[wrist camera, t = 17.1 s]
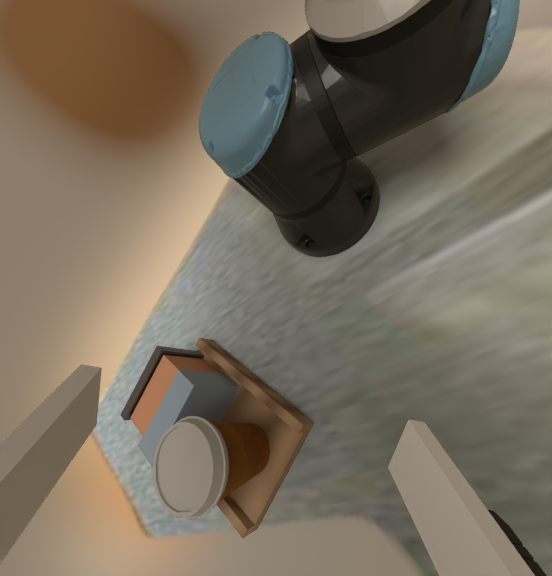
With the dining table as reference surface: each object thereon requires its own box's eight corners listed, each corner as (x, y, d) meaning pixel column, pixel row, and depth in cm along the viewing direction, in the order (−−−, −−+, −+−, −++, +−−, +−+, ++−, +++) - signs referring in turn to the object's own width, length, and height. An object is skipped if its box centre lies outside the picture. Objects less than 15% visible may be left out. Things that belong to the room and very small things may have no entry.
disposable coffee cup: (294, 466, 38) (231, 494, 28) (239, 504, 40) (164, 541, 30) (259, 396, 43) (196, 398, 33) (213, 433, 45) (141, 445, 35)
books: (239, 386, 45) (193, 385, 37) (203, 453, 45) (151, 465, 38) (205, 356, 50) (159, 350, 42) (173, 416, 50) (121, 422, 42)
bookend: (204, 355, 50) (161, 350, 43) (172, 415, 50) (124, 420, 43) (198, 350, 51) (155, 344, 44) (167, 409, 51) (119, 413, 44)
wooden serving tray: (313, 422, 39) (303, 425, 37) (256, 529, 40) (242, 538, 37) (212, 340, 52) (199, 337, 49) (169, 421, 52) (154, 423, 50)
